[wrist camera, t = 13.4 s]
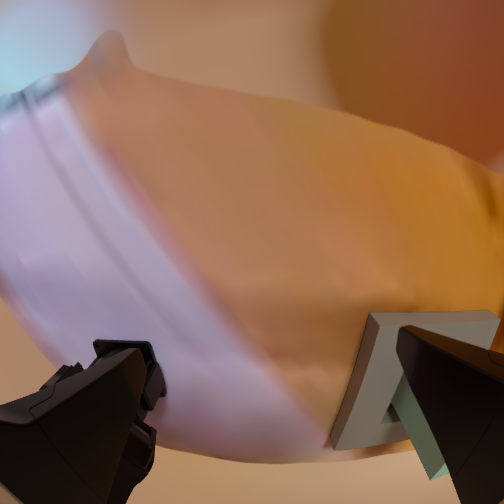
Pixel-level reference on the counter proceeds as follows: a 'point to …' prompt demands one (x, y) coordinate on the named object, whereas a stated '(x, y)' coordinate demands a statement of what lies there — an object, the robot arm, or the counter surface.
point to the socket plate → (395, 372)
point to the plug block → (418, 430)
